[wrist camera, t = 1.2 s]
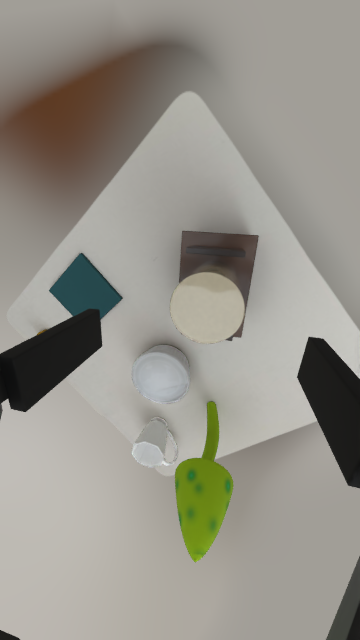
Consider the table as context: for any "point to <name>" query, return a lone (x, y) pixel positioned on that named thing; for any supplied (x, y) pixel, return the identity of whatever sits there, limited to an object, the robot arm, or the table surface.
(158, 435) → the cup
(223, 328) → the cream cylinder
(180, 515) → the mushroom
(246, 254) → the holder
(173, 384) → the ramekin
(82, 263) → the mat
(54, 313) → the table surface
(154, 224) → the table surface
